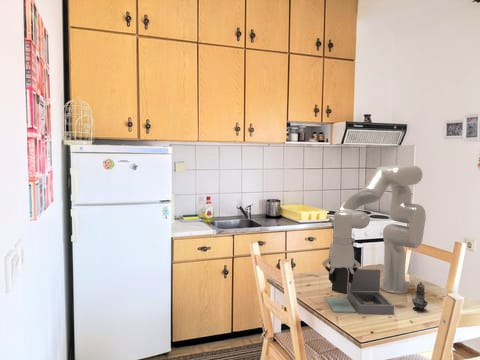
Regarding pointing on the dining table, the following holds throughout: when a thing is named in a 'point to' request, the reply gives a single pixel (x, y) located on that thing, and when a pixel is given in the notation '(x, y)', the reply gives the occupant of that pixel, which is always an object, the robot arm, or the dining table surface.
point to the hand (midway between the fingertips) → (340, 281)
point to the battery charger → (341, 280)
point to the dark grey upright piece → (420, 299)
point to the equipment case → (368, 293)
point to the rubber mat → (340, 305)
